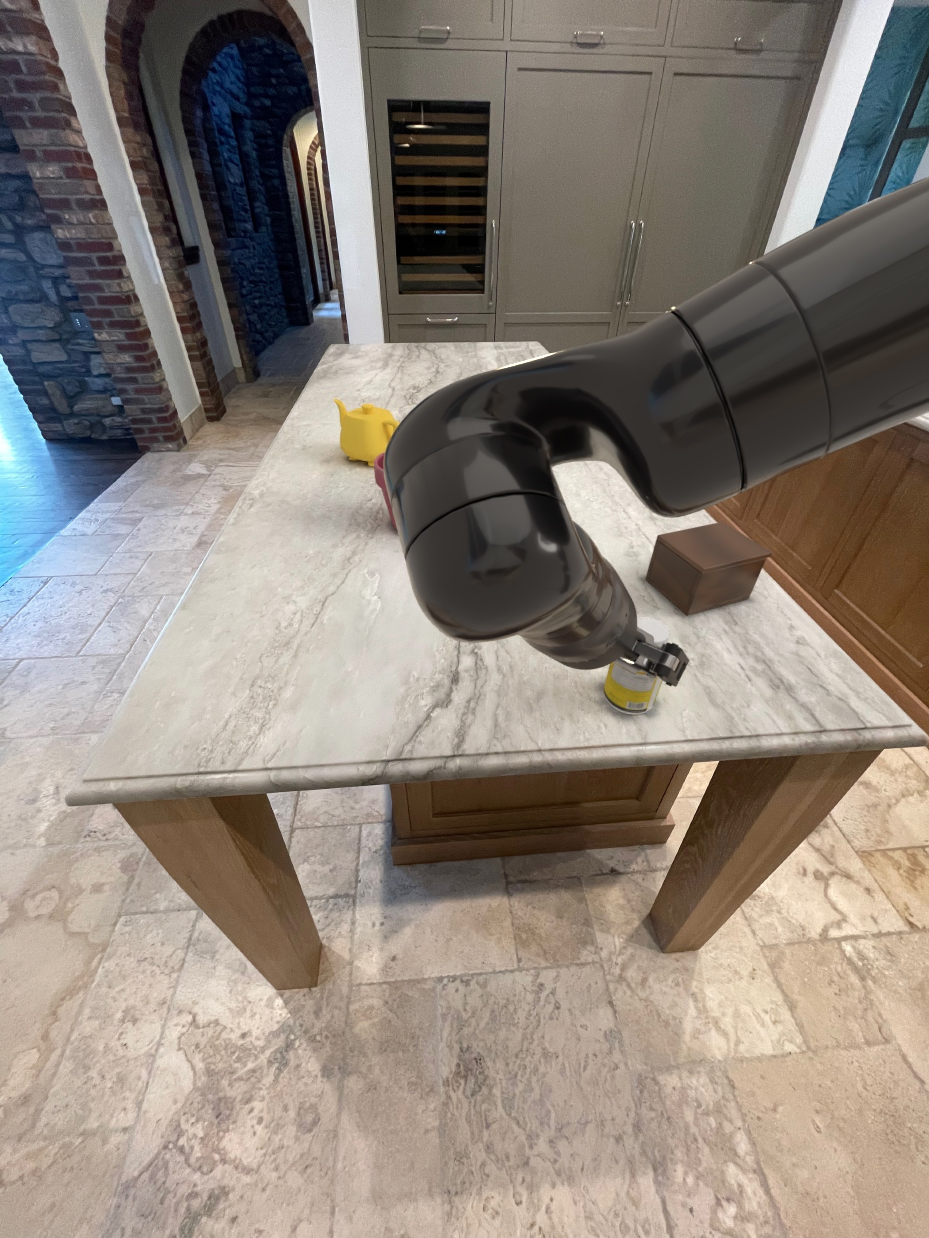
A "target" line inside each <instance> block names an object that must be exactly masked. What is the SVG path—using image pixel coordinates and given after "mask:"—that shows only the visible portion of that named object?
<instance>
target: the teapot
mask: <svg viewBox="0 0 929 1238" xmlns="http://www.w3.org/2000/svg"><path fill="white" fill-rule="evenodd" d="M333 401H334V403H335V404H336V406H337V408H338V413H339V424H340V434H339V446H340V449H341V450H342V452H343V453H344V455H346V456H347V457H349V458H348V460H349V461H363V462H367V465H368V466H369V467H374V460H375V458H376V457H377V456H378V455H380V454H382V453H384V452H385V450H386V447H387V445H388V443H389V440H390V438H391V436H392V434H393V433H394V431H395V430H396V428H397V427H398V425H399V424H400V422H399V421H398V420H396V419H395V418H394V415H393V414H392V412H391V410H388V409H386V408H383V407H379V406H375V405H374V403H373V404H372V403H362V404H361V405H360V407H357V408H354V409H351V410H350V411H348V410H347V408H346V406H345V404H344V402H342V400H341V399H338V398H333Z"/></svg>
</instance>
